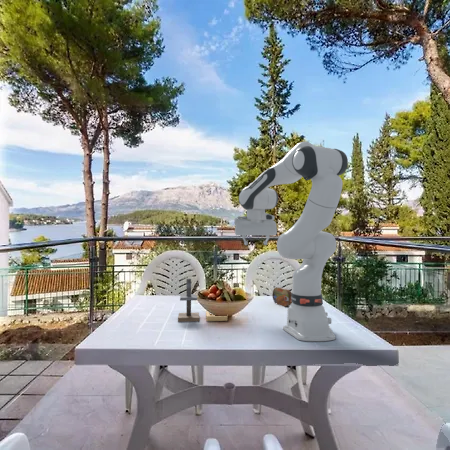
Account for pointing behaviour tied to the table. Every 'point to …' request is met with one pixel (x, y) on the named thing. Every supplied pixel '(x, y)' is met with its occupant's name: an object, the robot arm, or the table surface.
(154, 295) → the table surface
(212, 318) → the tan rectangular frame
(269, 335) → the table surface
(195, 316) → the stand
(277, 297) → the tin
